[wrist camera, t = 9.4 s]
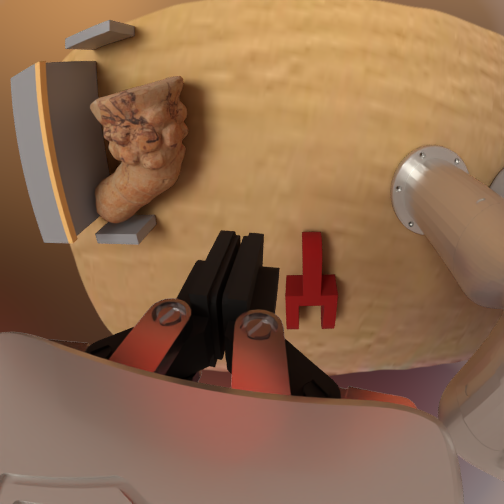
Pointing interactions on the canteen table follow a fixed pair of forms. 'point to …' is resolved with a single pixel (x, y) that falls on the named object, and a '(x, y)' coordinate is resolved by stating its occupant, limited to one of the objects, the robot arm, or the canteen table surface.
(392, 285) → the canteen table surface
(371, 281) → the canteen table surface
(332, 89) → the canteen table surface
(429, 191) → the robot arm
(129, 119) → the clay pipe
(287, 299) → the mechanical linkage
